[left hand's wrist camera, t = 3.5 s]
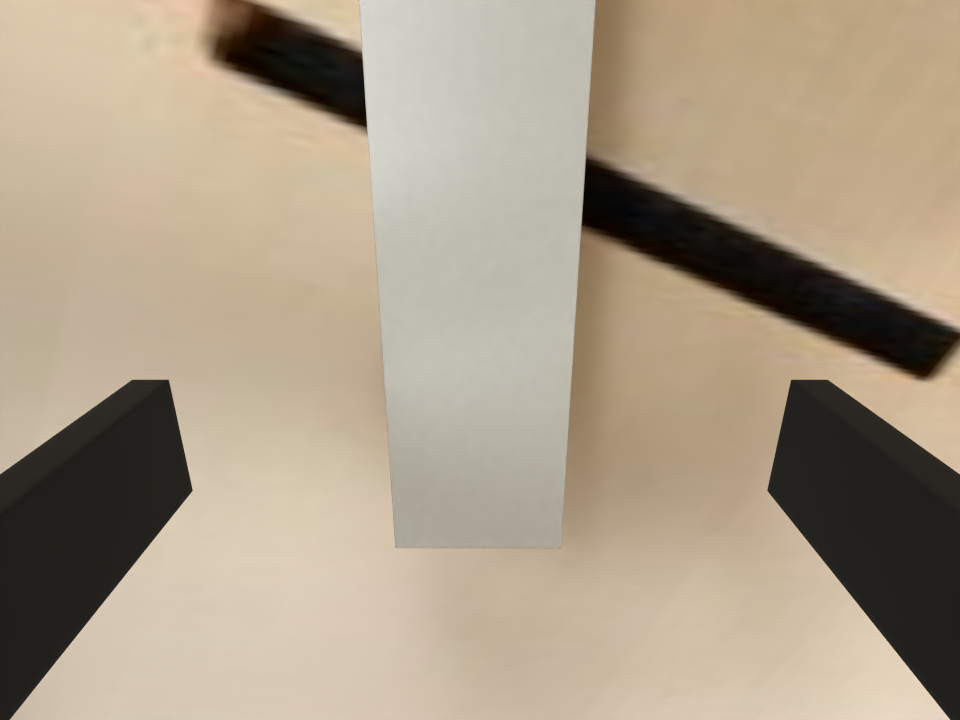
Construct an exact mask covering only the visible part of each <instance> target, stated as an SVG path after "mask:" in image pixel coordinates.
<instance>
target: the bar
mask: <svg viewBox="0 0 960 720" xmlns="http://www.w3.org/2000/svg"><path fill="white" fill-rule="evenodd" d="M595 5H596V0H359V9H360V24H361V39H362V54H363V69H364V84H365V99H366V114H367V129H368V144H369V159H370V174H371V189H372V204H373V219H374V234H375V249H376V265H377V280H378V295H379V310H380V325H381V340H382V355H383V370H384V385H385V400H386V415H387V430H388V445H389V460H390V475H391V490H392V505H393V520H394V535H395V547H396V548H561V540H562V524H563V508H564V493H565V477H566V461H567V445H568V430H569V414H570V398H571V383H572V367H573V351H574V335H575V320H576V304H577V288H578V273H579V257H580V241H581V225H582V210H583V194H584V178H585V163H586V147H587V131H588V115H589V100H590V84H591V68H592V52H593V37H594V21H595Z"/></svg>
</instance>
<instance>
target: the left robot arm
mask: <svg viewBox="0 0 960 720" xmlns="http://www.w3.org/2000/svg"><path fill="white" fill-rule="evenodd" d="M192 491H193V490H192V485H191V481H190V476H189V472H188V467H187V462H186V458H185V453H184V448H183V444H182V439H181V435H180V430H179V425H178V421H177V416H176V411H175V407H174V402H173V397H172V393H171V388H170V384H169V380H131V381H130V382H129V383H127V384H126V385H125V386H123V387H122V388H120V389H119V390H118V391H116V392H115V393H113V394H112V395H111V396H109V397H108V398H106V399H105V400H104V401H102V402H101V403H99V404H98V405H97V406H95V407H94V408H92V409H91V410H90V411H88V412H87V413H85V414H84V415H83V416H81V417H80V418H78V419H77V420H76V421H74V422H73V423H71V424H70V425H69V426H67V427H66V428H64V429H63V430H62V431H60V432H59V433H58V434H56V435H55V436H53V437H52V438H51V439H49V440H48V441H46V442H45V443H44V444H42V445H41V446H39V447H38V448H37V449H35V450H34V451H32V452H31V453H30V454H28V455H27V456H25V457H24V458H23V459H21V460H20V461H18V462H17V463H16V464H14V465H13V466H11V467H10V468H9V469H7V470H6V471H4V472H3V473H2V474H0V720H10V719H11V717H12V716H13V715H14V714H15V712H16V711H17V710H18V709H19V707H20V706H21V705H22V704H23V702H24V701H25V700H26V699H27V697H28V696H29V695H30V694H31V692H32V691H33V690H34V689H35V687H36V686H37V685H38V684H39V682H40V681H41V680H42V679H43V677H44V676H45V675H46V674H47V672H48V671H49V670H50V669H51V667H52V666H53V665H54V663H55V662H56V661H57V660H58V658H59V657H60V656H61V655H62V653H63V652H64V651H65V650H66V648H67V647H68V646H69V645H70V643H71V642H72V641H73V640H74V638H75V637H76V636H77V635H78V633H79V632H80V631H81V630H82V628H83V627H84V626H85V625H86V623H87V622H88V621H89V620H90V618H91V617H92V616H93V615H94V613H95V612H96V611H97V610H98V608H99V607H100V606H101V605H102V603H103V602H104V601H105V600H106V598H107V597H108V596H109V595H110V593H111V592H112V591H113V590H114V588H115V587H116V586H117V585H118V583H119V582H120V581H121V580H122V578H123V577H124V576H125V575H126V573H127V572H128V571H129V570H130V568H131V567H132V566H133V565H134V563H135V562H136V561H137V560H138V558H139V557H140V556H141V555H142V553H143V552H144V551H145V550H146V548H147V547H148V546H149V545H150V543H151V542H152V541H153V540H154V538H155V537H156V536H157V535H158V533H159V532H160V531H161V530H162V528H163V527H164V526H165V525H166V523H167V522H168V521H169V520H170V518H171V517H172V516H173V515H174V513H175V512H176V511H177V510H178V508H179V507H180V506H181V505H182V503H183V502H184V501H185V500H186V498H187V497H188V496H189V495H190V493H191V492H192ZM767 491H768V492H769V493H770V495H771V496H772V497H773V498H774V500H775V501H776V502H777V503H778V505H779V506H780V507H781V508H782V510H783V511H784V512H785V513H786V515H787V516H788V517H789V518H790V520H791V521H792V522H793V523H794V525H795V526H796V527H797V528H798V530H799V531H800V532H801V533H802V535H803V536H804V537H805V538H806V540H807V541H808V542H809V543H810V545H811V546H812V547H813V548H814V550H815V551H816V552H817V553H818V555H819V556H820V557H821V558H822V560H823V561H824V562H825V563H826V565H827V566H828V567H829V568H830V570H831V571H832V572H833V573H834V575H835V576H836V577H837V578H838V580H839V581H840V582H841V583H842V585H843V586H844V587H845V588H846V590H847V591H848V592H849V593H850V595H851V596H852V597H853V598H854V600H855V601H856V602H857V603H858V605H859V606H860V607H861V608H862V610H863V611H864V612H865V613H866V615H867V616H868V617H869V618H870V620H871V621H872V622H873V623H874V625H875V626H876V627H877V628H878V630H879V631H880V632H881V633H882V635H883V636H884V637H885V638H886V640H887V641H888V642H889V643H890V645H891V646H892V647H893V648H894V650H895V651H896V652H897V653H898V655H899V656H900V657H901V658H902V660H903V661H904V662H905V663H906V665H907V666H908V667H909V669H910V670H911V671H912V672H913V674H914V675H915V676H916V677H917V679H918V680H919V681H920V682H921V684H922V685H923V686H924V687H925V689H926V690H927V691H928V692H929V694H930V695H931V696H932V697H933V699H934V700H935V701H936V702H937V704H938V705H939V706H940V707H941V709H942V710H943V711H944V712H945V714H946V715H947V716H948V717H949V719H950V720H960V474H958V473H957V472H956V471H954V470H953V469H951V468H950V467H949V466H947V465H946V464H944V463H943V462H942V461H940V460H939V459H937V458H936V457H935V456H933V455H932V454H930V453H929V452H928V451H926V450H925V449H923V448H922V447H921V446H919V445H918V444H916V443H915V442H914V441H912V440H911V439H909V438H908V437H907V436H905V435H904V434H902V433H901V432H900V431H898V430H897V429H896V428H894V427H893V426H891V425H890V424H889V423H887V422H886V421H884V420H883V419H882V418H880V417H879V416H877V415H876V414H875V413H873V412H872V411H870V410H869V409H868V408H866V407H865V406H863V405H862V404H861V403H859V402H858V401H856V400H855V399H854V398H852V397H851V396H849V395H848V394H847V393H845V392H844V391H842V390H841V389H840V388H838V387H837V386H835V385H834V384H833V383H831V382H830V381H828V380H791V384H790V388H789V393H788V397H787V402H786V407H785V411H784V416H783V421H782V425H781V430H780V435H779V439H778V444H777V448H776V453H775V458H774V462H773V467H772V472H771V476H770V481H769V485H768V490H767Z"/></svg>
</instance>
